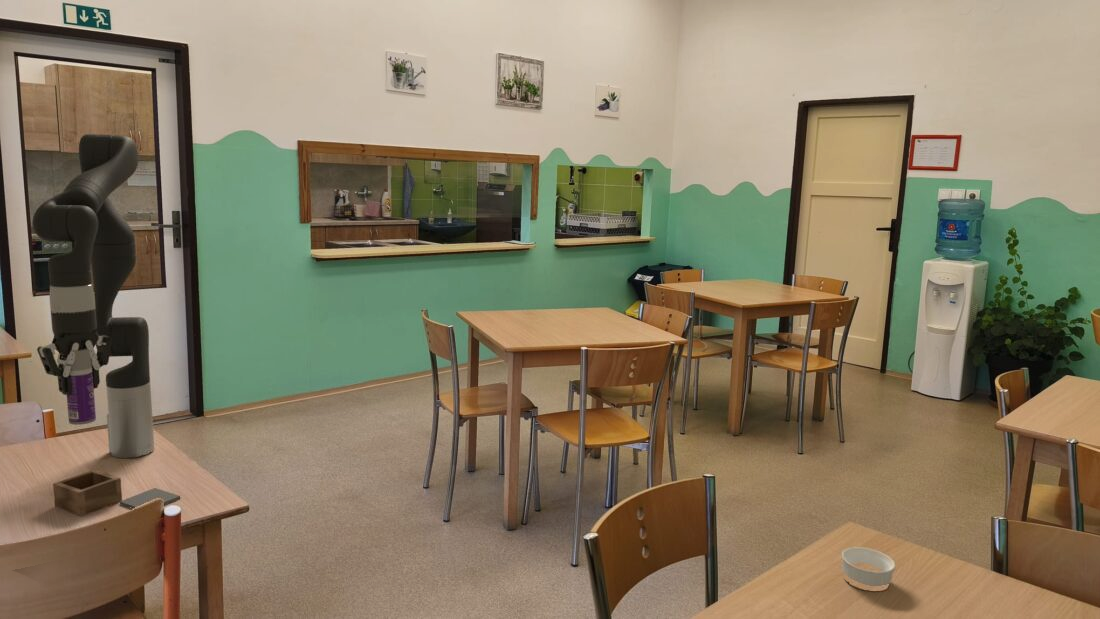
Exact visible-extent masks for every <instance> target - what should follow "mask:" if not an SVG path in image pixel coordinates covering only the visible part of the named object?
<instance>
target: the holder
mask: <svg viewBox="0 0 1100 619" xmlns="http://www.w3.org/2000/svg"><path fill="white" fill-rule="evenodd" d="M52 486H53V487H52V489H53V500H54V501H53V502H54V507H55V508H57V509H59V510H60V509H61V510H62V511H64V512H65V511H66V512H68V513H71V514H73V515H77V516H79V517H83V516H85V515H89V514H91V513H93V511H94V512H97V511H99V510H101V509H105V508H106V506H107V507H109V506H112V505H114V503H115V504H117V503H120V501H122V500H123V497H122V496H123V495H122V493H123V492H122V480H121V477H119V476H116V475H113V474H110V473H105V472H102V471H100V470H96V469H93V470H89V471H86V472H84V473H83V472H82V473H81V474H77V475H75V476H71V477H69V478H66V479H63V480H60V481H59V480H58V481H57V482H56V481H55V482H53V483H52ZM111 504H112V505H111ZM90 512H91V513H90ZM88 513H89V514H88Z"/></svg>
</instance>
